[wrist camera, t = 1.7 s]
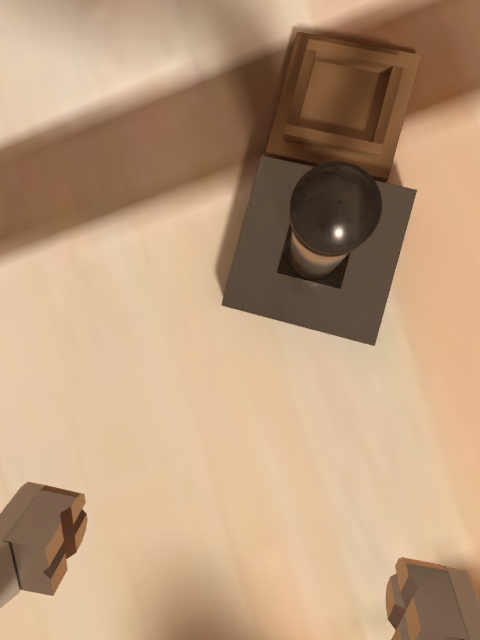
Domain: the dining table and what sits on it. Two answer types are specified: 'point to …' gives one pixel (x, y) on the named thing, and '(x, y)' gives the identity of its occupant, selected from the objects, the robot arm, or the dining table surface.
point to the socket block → (305, 296)
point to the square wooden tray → (342, 104)
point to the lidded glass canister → (331, 216)
